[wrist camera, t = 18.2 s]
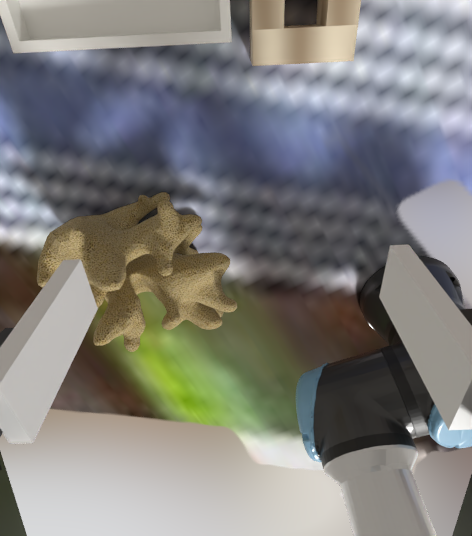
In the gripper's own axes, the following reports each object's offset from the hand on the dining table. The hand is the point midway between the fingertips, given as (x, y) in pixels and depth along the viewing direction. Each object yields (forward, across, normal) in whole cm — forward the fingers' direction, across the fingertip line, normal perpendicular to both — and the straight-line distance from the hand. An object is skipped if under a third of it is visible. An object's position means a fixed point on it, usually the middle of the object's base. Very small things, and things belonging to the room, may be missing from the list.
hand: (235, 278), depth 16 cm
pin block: (+34, -7, -11) cm, 36 cm away
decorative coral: (+34, +12, +17) cm, 40 cm away
